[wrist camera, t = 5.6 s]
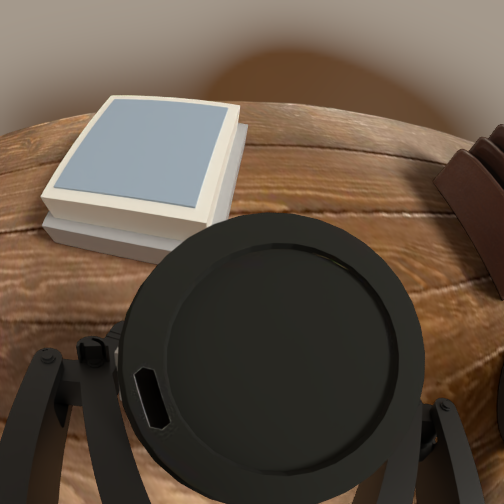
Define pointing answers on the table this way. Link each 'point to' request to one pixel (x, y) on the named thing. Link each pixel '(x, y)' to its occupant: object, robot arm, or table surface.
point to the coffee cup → (271, 361)
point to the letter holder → (479, 198)
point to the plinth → (146, 176)
